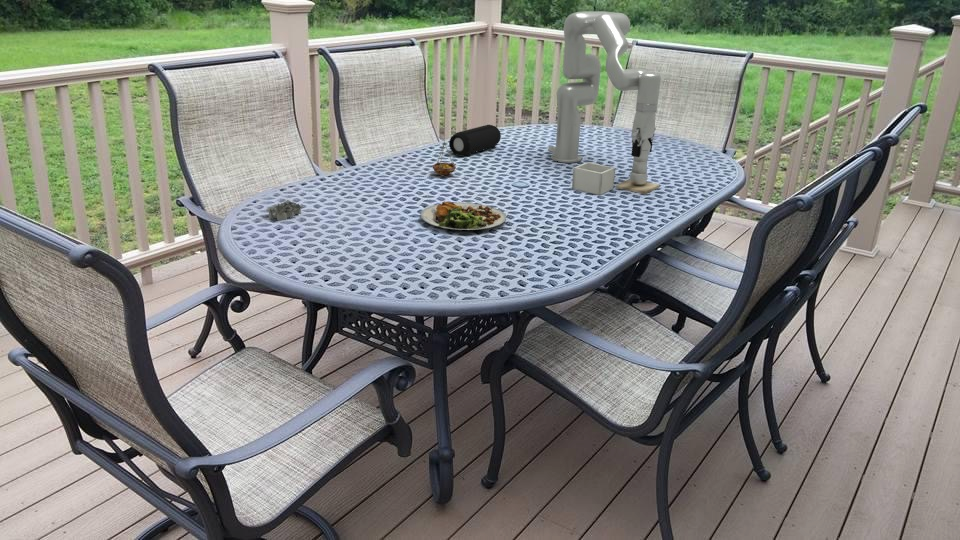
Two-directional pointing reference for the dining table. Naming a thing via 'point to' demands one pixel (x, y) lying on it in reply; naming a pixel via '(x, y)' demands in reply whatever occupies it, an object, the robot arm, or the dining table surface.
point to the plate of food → (463, 216)
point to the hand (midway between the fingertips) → (641, 154)
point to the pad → (637, 187)
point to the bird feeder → (444, 167)
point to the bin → (593, 178)
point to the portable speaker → (474, 139)
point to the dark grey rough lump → (284, 210)
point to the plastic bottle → (640, 164)
